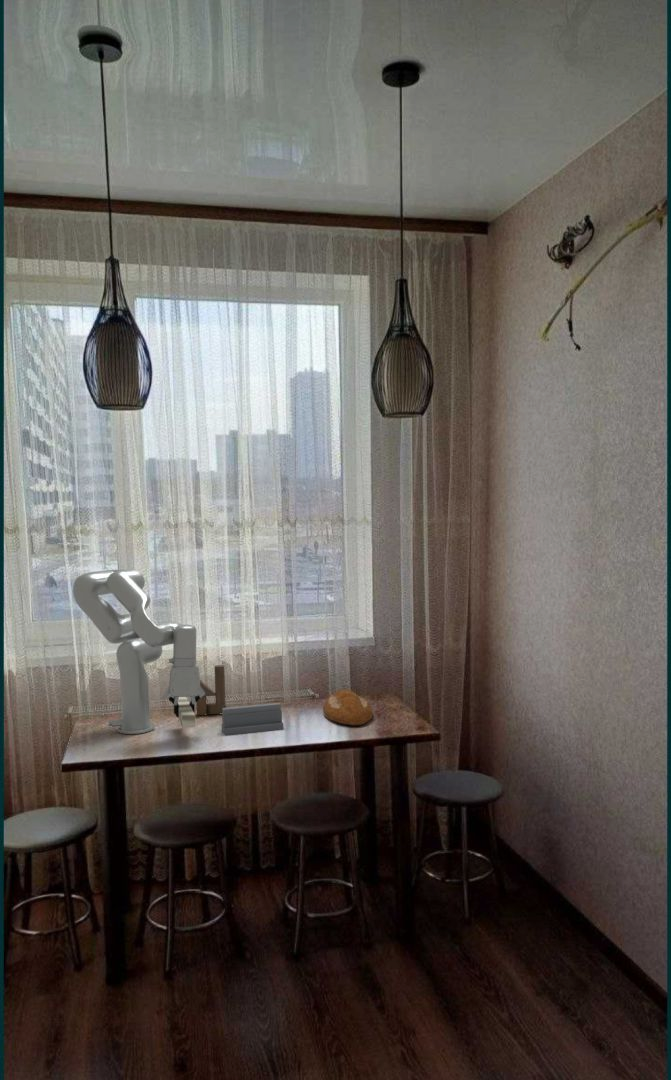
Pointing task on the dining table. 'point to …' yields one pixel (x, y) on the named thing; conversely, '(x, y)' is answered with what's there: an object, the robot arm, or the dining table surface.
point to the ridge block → (252, 719)
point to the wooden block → (213, 694)
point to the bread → (347, 708)
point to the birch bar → (186, 713)
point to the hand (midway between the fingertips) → (184, 715)
